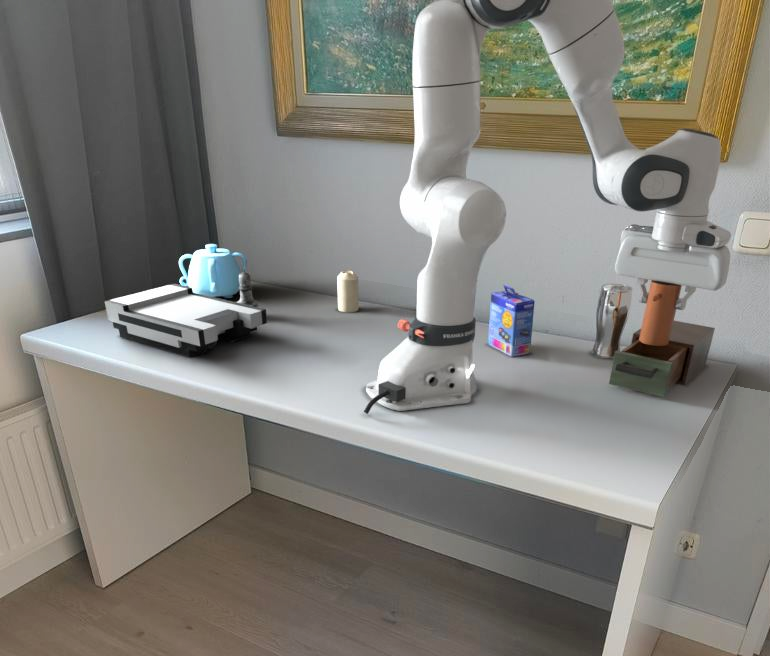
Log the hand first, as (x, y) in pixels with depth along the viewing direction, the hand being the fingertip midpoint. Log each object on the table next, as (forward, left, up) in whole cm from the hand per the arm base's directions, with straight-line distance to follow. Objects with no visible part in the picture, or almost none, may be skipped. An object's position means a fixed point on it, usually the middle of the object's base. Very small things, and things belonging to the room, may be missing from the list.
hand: (661, 305), depth 137 cm
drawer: (-1, -1, -15) cm, 15 cm away
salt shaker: (-57, +83, -16) cm, 102 cm away
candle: (-31, +77, -16) cm, 85 cm away
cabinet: (+11, +5, -16) cm, 20 cm away
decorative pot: (-58, +108, -16) cm, 124 cm away
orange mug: (-2, -1, -7) cm, 7 cm away
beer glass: (+6, +18, -16) cm, 25 cm away
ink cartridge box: (-12, +31, -16) cm, 37 cm away
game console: (-75, +73, -16) cm, 106 cm away
